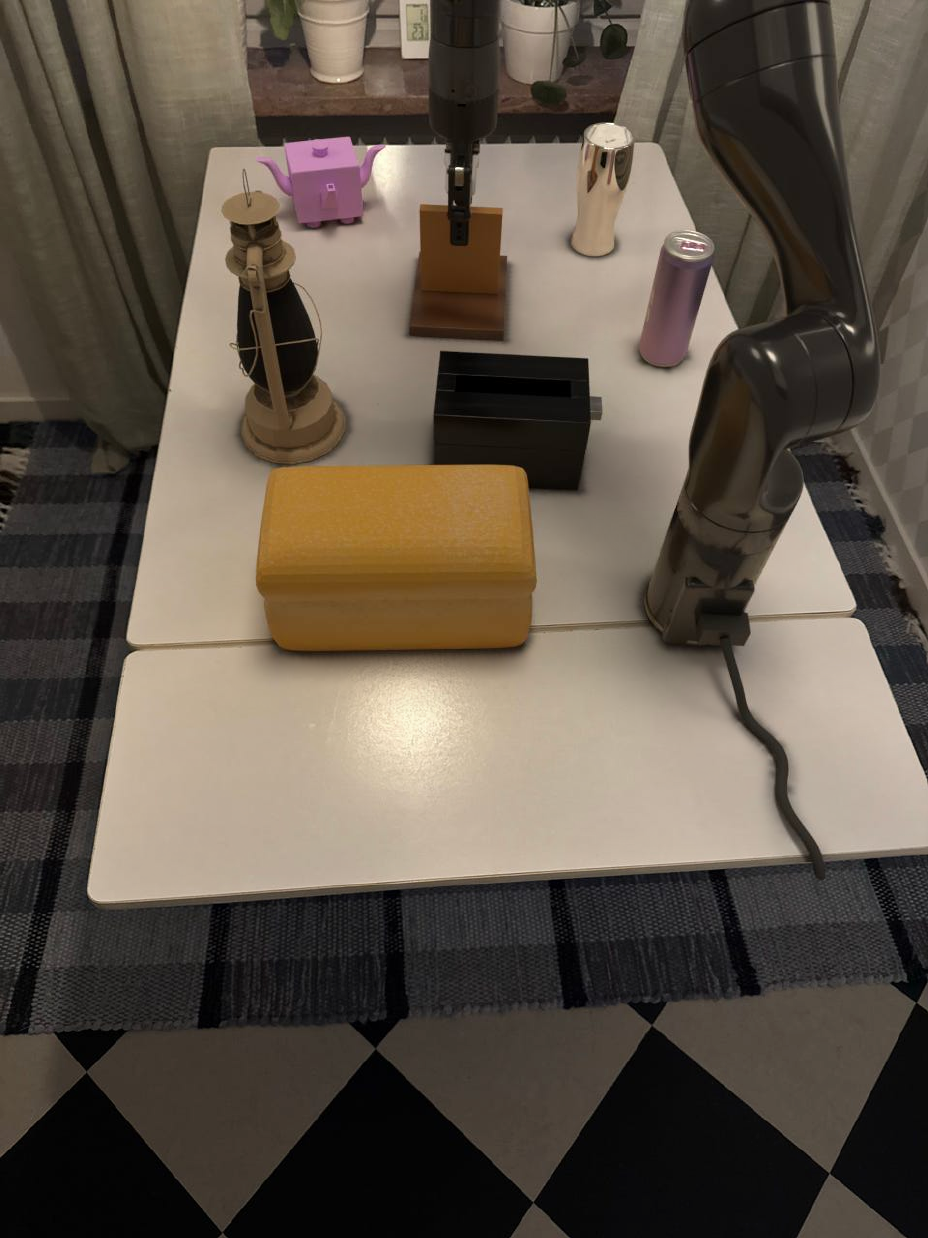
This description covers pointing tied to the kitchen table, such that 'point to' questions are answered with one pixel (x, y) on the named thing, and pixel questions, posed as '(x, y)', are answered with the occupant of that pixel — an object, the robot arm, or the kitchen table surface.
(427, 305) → the board
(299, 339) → the lantern
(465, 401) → the toaster
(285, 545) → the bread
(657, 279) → the beverage can
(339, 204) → the teapot
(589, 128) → the beer glass
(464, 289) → the toast
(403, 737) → the kitchen table surface
